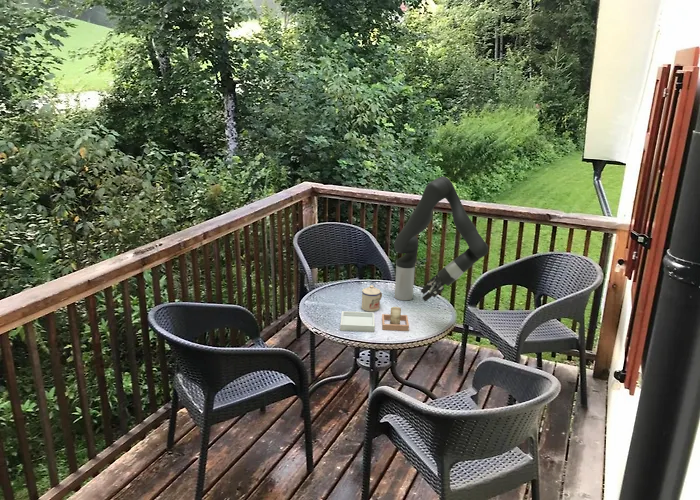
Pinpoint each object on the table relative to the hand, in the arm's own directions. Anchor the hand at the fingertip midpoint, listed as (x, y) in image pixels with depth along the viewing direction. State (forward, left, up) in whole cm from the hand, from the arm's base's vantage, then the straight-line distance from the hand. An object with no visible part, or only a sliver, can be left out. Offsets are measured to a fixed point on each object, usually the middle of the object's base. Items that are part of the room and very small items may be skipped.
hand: (422, 296), depth 250 cm
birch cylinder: (0, -12, -15) cm, 19 cm away
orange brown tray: (0, -12, -15) cm, 19 cm away
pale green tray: (+1, -29, -15) cm, 32 cm away
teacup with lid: (-19, -22, -15) cm, 32 cm away
